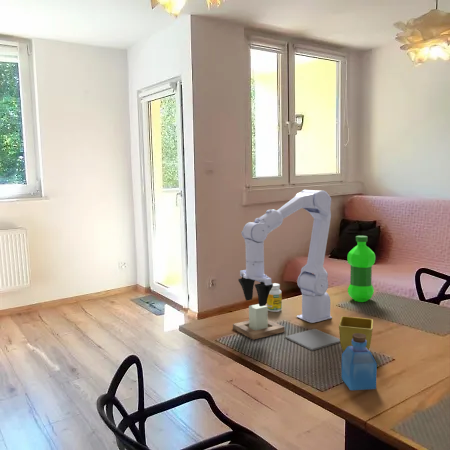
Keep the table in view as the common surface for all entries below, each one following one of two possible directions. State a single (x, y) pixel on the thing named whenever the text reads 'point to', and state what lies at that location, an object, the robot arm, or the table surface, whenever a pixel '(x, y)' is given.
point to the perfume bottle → (359, 365)
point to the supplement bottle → (274, 298)
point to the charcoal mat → (313, 339)
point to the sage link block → (258, 317)
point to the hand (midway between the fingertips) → (255, 302)
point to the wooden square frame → (271, 330)
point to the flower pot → (354, 330)
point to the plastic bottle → (361, 270)
